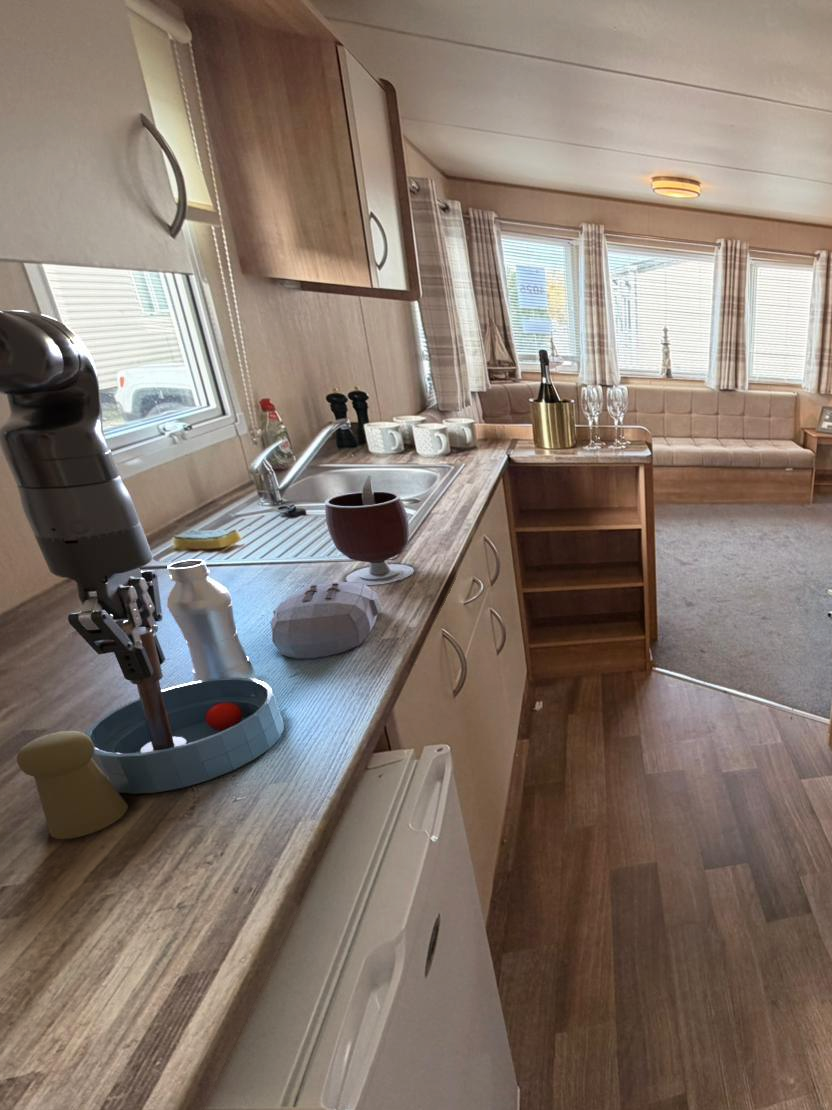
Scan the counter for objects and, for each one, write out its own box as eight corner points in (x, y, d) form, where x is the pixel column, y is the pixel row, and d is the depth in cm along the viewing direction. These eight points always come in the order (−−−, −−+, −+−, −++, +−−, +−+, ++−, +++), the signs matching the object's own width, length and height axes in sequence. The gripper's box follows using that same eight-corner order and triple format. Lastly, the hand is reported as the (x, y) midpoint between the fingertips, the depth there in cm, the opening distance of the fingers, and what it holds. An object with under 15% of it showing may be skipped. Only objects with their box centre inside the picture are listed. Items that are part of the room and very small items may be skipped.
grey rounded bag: (293, 618, 116) (259, 670, 99) (281, 576, 112) (243, 622, 96) (390, 608, 121) (373, 656, 105) (380, 568, 118) (361, 610, 101)
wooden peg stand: (138, 766, 73) (104, 641, 67) (144, 748, 76) (112, 626, 70) (186, 758, 75) (157, 636, 70) (190, 740, 78) (163, 622, 73)
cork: (33, 839, 67) (-15, 753, 62) (99, 800, 72) (59, 719, 68) (83, 847, 66) (38, 761, 62) (146, 807, 71) (108, 726, 67)
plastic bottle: (198, 690, 93) (149, 562, 85) (256, 675, 98) (216, 552, 90) (203, 709, 89) (152, 576, 81) (264, 692, 94) (222, 565, 86)
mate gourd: (413, 585, 132) (393, 491, 124) (334, 592, 127) (308, 494, 119) (423, 561, 145) (406, 474, 137) (352, 566, 140) (329, 476, 132)
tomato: (220, 733, 81) (206, 708, 81) (209, 737, 83) (195, 712, 82) (252, 720, 84) (239, 696, 84) (241, 724, 86) (228, 700, 86)
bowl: (71, 815, 70) (48, 771, 68) (140, 729, 84) (123, 691, 82) (265, 778, 77) (250, 737, 74) (299, 705, 91) (287, 668, 89)
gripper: (73, 508, 69) (130, 649, 76) (-8, 548, 58) (68, 709, 64) (163, 504, 72) (210, 640, 79) (103, 541, 61) (165, 696, 68)
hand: (146, 670), depth 72 cm, fingers closed on wooden peg stand, 2 cm apart
